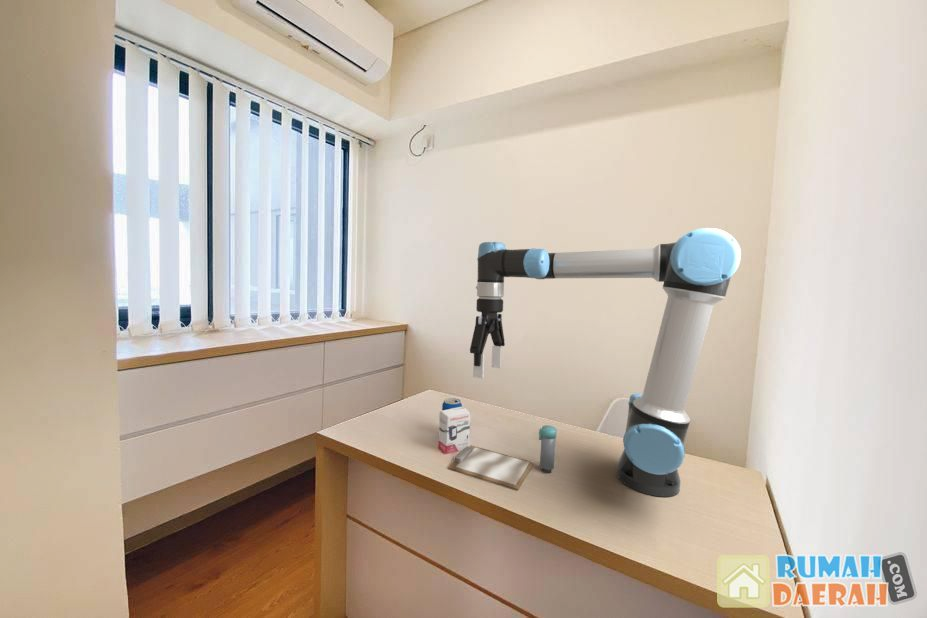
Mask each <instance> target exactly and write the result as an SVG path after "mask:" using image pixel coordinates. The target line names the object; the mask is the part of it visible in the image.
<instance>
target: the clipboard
mask: <svg viewBox="0 0 927 618" xmlns="http://www.w3.org/2000/svg"><path fill="white" fill-rule="evenodd" d="M534 465H535V463H534V461H530V460H526V459H523V458H520V457H516V456H512V455H509V454H505V453H501V452H497V451H493V450H490V449H485V448H483V447H480V446H479V447H478V446H476V445H475V446H474V445H471V444H470V445H469V447H468V446H466V447H465V448H464V449H463V450H460V452H459V453H457V454H456V455H455V456H454V459H453V462H452V463H450V464H449V465H448V466H447V470H451V471H453V472H456V473H460V474H463V475H465V476H469V477H472V478H476V479H479V480H482V481H484V482H489V483H493V484H496V485H498V486H502V487H504V488H509V489H511V490H514V491H517V492H518V491H519V490H520V488H521V486H522V484H523V483H524V481H525V480H526V478H527V476H528V474H529V473H530V471H531V470H532V467H533V466H534Z"/></svg>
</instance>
